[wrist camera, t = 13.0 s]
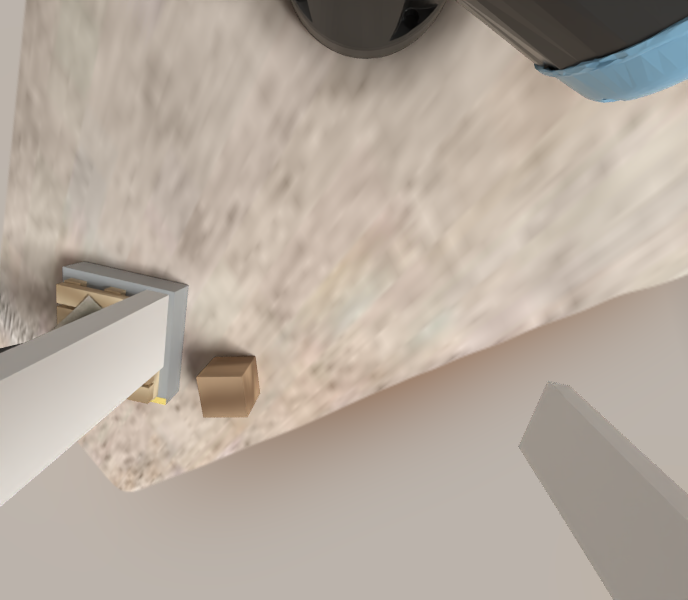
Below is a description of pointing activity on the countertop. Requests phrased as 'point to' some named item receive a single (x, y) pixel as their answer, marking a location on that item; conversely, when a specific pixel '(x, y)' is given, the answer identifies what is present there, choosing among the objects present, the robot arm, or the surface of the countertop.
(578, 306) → the countertop surface
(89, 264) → the dock
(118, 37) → the countertop surface
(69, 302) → the pallet
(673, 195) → the countertop surface
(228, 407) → the brown cube
